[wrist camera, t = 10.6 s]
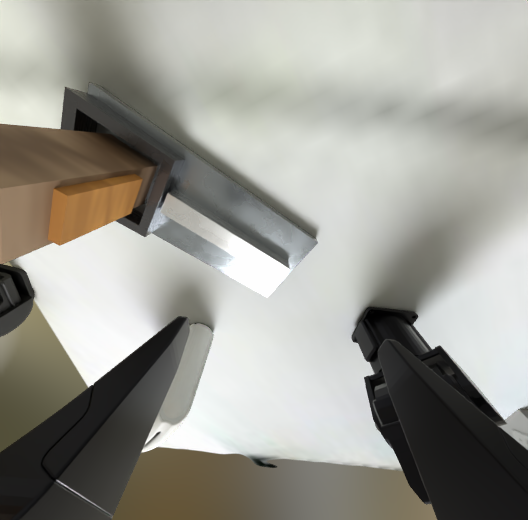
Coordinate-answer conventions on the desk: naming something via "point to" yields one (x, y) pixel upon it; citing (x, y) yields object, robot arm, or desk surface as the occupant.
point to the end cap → (14, 298)
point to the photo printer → (182, 386)
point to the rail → (195, 199)
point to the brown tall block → (64, 185)
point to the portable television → (518, 426)
